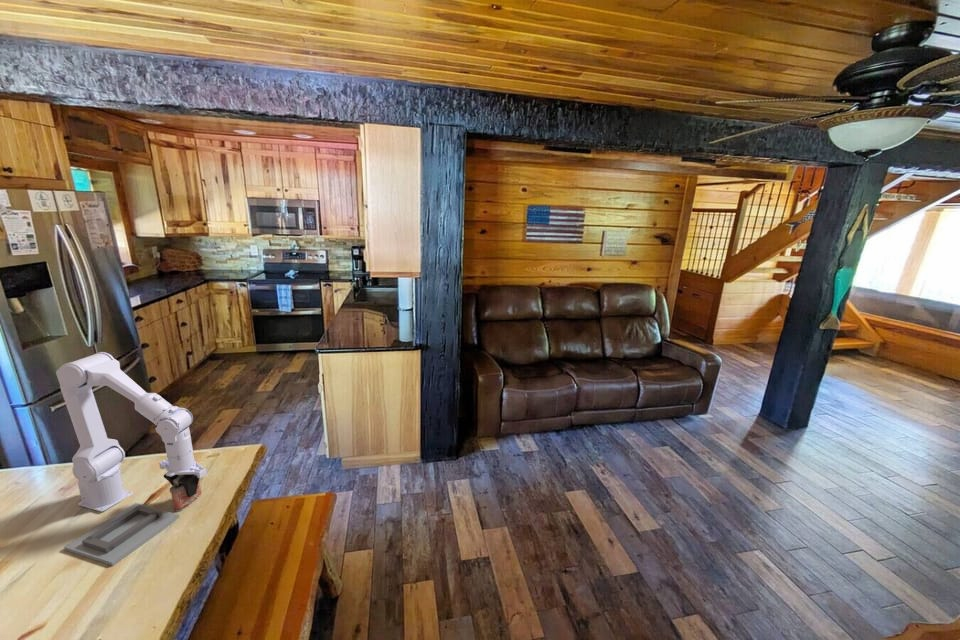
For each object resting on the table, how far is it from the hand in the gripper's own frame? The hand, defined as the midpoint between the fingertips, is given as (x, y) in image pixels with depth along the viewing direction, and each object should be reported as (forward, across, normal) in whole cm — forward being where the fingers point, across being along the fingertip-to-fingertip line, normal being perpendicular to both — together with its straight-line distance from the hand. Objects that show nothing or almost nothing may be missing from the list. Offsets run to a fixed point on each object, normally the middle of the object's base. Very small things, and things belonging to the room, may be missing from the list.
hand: (187, 493), depth 110 cm
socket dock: (+3, -5, -13) cm, 14 cm away
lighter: (+4, 0, 0) cm, 4 cm away
